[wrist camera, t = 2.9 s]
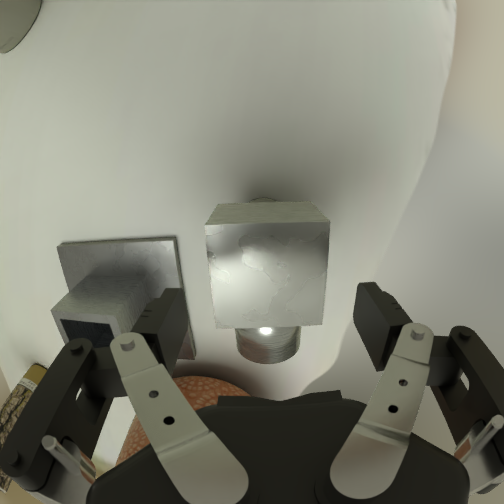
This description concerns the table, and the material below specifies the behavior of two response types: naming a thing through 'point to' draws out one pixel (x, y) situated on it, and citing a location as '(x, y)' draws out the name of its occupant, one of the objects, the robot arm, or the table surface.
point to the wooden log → (17, 410)
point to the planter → (198, 396)
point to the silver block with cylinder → (267, 273)
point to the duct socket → (115, 287)
